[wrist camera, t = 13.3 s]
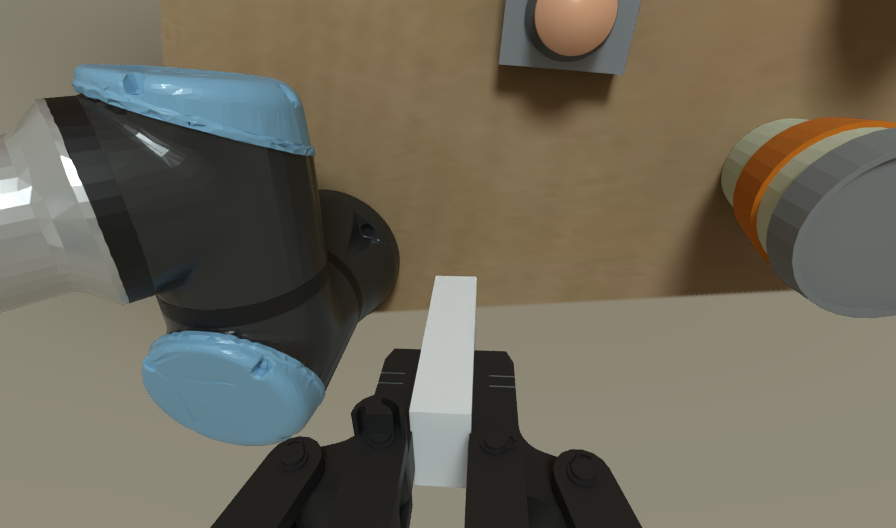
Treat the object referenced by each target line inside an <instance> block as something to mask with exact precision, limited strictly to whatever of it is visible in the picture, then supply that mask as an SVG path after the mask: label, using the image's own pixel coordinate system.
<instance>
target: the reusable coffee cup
mask: <svg viewBox="0 0 896 528" xmlns="http://www.w3.org/2000/svg"><path fill="white" fill-rule="evenodd" d="M721 185H722V190H723V193H724V195H725V197H726V199H727V200H728V201H729V203H730V204H731V205H732V207H733V208H734V213H735V217H736V219H737V221H738V223H739V225H740V227H741V228H742V230H743V231H744V233H745V234H746V235H747V237H748V238H749V240H750V241H751V243H752V244H753V245H754V247H755V248H756V250H757V251H758V252H759V253H760V255H761V256H762V257H763V258H764V259H765V260H766V261H767V262H768V263H770V264H771V266H772V268H773V270H774V272H775V273H776V274H777V275H778V277H779V278H780V279H781V280H782V281H783V282H784V283H785V284H787V285H788V286H790V287H791V288H792V289H794V290H795V291H797V292H798V293H800V294H801V295H803V296H804V297H806V298H807V299H809V300H810V301H812V302H813V303H815V304H816V305H817V306H819V307H821V308H822V309H824V310H827V311H830V312H832V313H835V314H838V315H843V316H849V317H854V318H877V317H886V316H893V315H896V123H892V122H886V121H878V120H866V119H854V118H842V117H826V118H818V119H813V120H804V119H781V120H776V121H772V122H769V123H766V124H764V125H761V126H760V127H758V128H756V129H754V130H752V131H751V132H750V133H748V134H747V135H746V136H744V137H743V138H742V139H741V140H740V141H739V142H738V143H737V144H736V145H735V146H734V148H733V149H732V150H731V152H730V153H729V155H728V157H727V159H726V161H725V163H724V166H723V170H722V174H721Z"/></svg>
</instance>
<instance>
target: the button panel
mask: <svg viewBox="0 0 896 528" xmlns="http://www.w3.org/2000/svg"><path fill="white" fill-rule="evenodd" d="M536 1H537V0H506V3H505V12H504V21H503V30H502V39H501V48H500V57H499V64H501V65H513V66H525V67H536V68H548V69H560V70H572V71H584V72H596V73H608V74H620V75H623V74H624V70H625V65H626V61H627V57H628V53H629V49H630V44H631V40H632V36H633V32H634V27H635V23H636V19H637V15H638V11H639V6H640V2H641V0H617V1H618V7H617V15H616V19H615V22H614V25H613V27H612V29H611V31H610V33H609V34H608V36H607V37H606V38H605V39H604V41H603V42H602V43H601V44H599V45H598V46H597V47H596V48H594V49H593V50H591V51H589V52H587V53H585V54H582V55H577V56H565V55H561V54H558V53H556V52H554V51H552V50H551V49H549V48H548V47H547V46H546V45H545V44H544V43H543V42H542V41H541V39H540V38H539V36H538V34H537V32H536V28H535V23H534V10H535V5H536Z"/></svg>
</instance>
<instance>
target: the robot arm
mask: <svg viewBox="0 0 896 528" xmlns="http://www.w3.org/2000/svg"><path fill="white" fill-rule="evenodd" d="M72 86H73V87H74V89H75V91H76V92H77V93H80V94H78V95H76V96H65V97H54V98H43V99H35V101H34V102H33V104H32V105H31V106H30V108H29V109H28V110H27V112H26V113H25V114H24V116H23V117H22V119H21V120H20V121H19V122H18V124H17V125H16V127H15V128H14V129H12V130H11V131H9V132H8V133H5V134H3V135H0V313H2V312H6V311H9V310H13V309H16V308H20V307H23V306H26V305H30V304H33V303H37V302H40V301H44V300H47V299H50V298H54V297H58V296H61V295H65V294H68V293H71V292H81V293H88V294H91V295H94V296H97V297H100V298H103V299H106V300H109V301H112V302H115V303H118V304H121V305H125V304H128V303H132V302H135V301H137V300H141V299H144V298H147V297H150V296H153V295H156V297H157V300H158V303H159V306H160V309H161V311H162V314H163V316H164V319H165V322H166V325H167V333H166V335H163V336H162V337H160V338H159V339H158V340H157V341H154V343H153V344H152V345H151V347H150V351H149V354H148V355H147V357H146V358H145V359H144V361H143V365H142V379H143V383H144V385H145V388H146V390H147V391H148V394H149V395H150V397H151V398H152V399H153V401H154V402H155V403H156V404H157V405H158V406H159V407H160V408H161V409H162V410H163V411H164V412H165V413H166V414H168V415H169V416H170V417H171V418H173V419H174V420H175V421H177V422H178V423H180V424H182V425H183V426H185V427H187V428H189V429H191V430H194V431H195V432H197V433H199V434H201V435H203V436H206V437H209V438H212V439H214V440H218V441H221V442H225V443H230V444H235V445H243V446H265V445H271V444H276V443H279V442H282V441H284V440H286V441H284V442H282V443H280V444H278V445H277V446H276V447H275V448H274V449H273V450H272V451H271V452H270V453H269V454H268V456H267V457H266V458H265V459H264V461H263V462H262V463H261V465H260V466H259V467H258V468H257V470H256V471H255V472H254V473H253V475H252V476H251V477H250V478H249V480H248V481H247V482H246V483H245V485H244V486H243V487H242V488H241V490H240V491H239V492H238V494H237V495H236V496H235V497H234V499H233V500H232V501H231V502H230V504H229V505H228V506H227V507H226V509H225V510H224V511H223V512H222V514H221V515H220V516H219V518H218V519H217V520H216V522H215V523H214V524H213V525H212V526H211V528H409V526H410V519H411V512H412V487H413V480H414V481H415V485H423V486H440V487H457V488H466V507H465V528H642V526H641V525H640V523H639V521H638V519H637V517H636V516H635V514H634V512H633V510H632V508H631V506H630V505H629V503H628V501H627V499H626V498H625V496H624V494H623V492H622V490H621V488H620V486H619V485H618V483H617V481H616V479H615V478H614V476H613V474H612V472H611V470H610V468H609V467H608V466H607V465H606V464H605V462H604V461H603V460H602V459H601V458H599V457H597V456H596V455H595V454H593V453H590V452H588V451H584V450H574V449H572V450H568V451H565V452H562V453H561V454H560V455H559V456H558V457H556V456H553V455H550V454H547V453H544V452H542V451H539V450H537V449H535V448H534V447H532V446H531V445H530V444H528V443H527V442H526V440H525V439H524V438H523V437H522V435H521V433H520V430H519V426H518V413H517V402H516V389H515V378H514V364H513V361H512V360H511V359H510V357H509V355H508V354H507V352H504V351H477V350H475V341H476V285H477V277H460V276H436V278H435V283H434V288H433V293H432V298H431V303H430V308H429V314H428V318H427V324H426V329H425V334H424V339H423V344H422V349H421V350H419V349H418V350H417V349H394V350H393V351H392V352H391V353H390V354H389V356H388V357H387V358H386V359H385V361H384V365H383V368H382V373H381V375H380V378H379V383H378V385H377V388H376V391H375V395H373V396H370V397H368V398H365V399H363V400H362V401H360V402H359V403H358V404H357V405H356V406H355V407H354V409H353V410H352V412H351V417H352V423H353V429H354V434H355V436H353V437H351V438H350V439H348V440H345V441H343V442H339V443H336V444H331V445H327V446H322V447H320V445H319V444H318V442H317V441H315V440H313V439H311V438H310V437H300V436H299V437H295V438H290V437H291V436H292V435H294V434H296V433H298V432H300V431H301V430H302V429H303V428H304V427H305V425H306V424H307V423H308V421H309V419H310V418H311V416H312V415H313V413H314V412H315V410H316V409H317V407H318V406H319V405H320V404H321V402H322V401H323V399H324V396H325V391H326V389H327V386H328V384H329V382H330V380H331V378H332V376H333V374H334V372H335V370H336V368H337V365H338V363H339V361H340V359H341V357H342V355H343V353H344V351H345V349H346V346H347V344H348V342H349V340H350V338H351V336H352V334H353V332H354V329H355V327H356V325H357V323H358V322H359V321H360V320H361V319H363V318H364V317H365V316H367V315H368V314H370V313H371V312H373V311H374V310H376V309H377V308H378V307H379V306H380V305H381V304H382V303H383V302H384V301H385V300H386V298H387V297H388V296H389V294H390V292H391V290H392V288H393V285H394V283H395V281H396V278H397V275H398V271H399V251H398V246H397V243H396V240H395V238H394V235H393V233H392V231H391V230H390V228H389V226H388V225H387V224H386V222H385V221H384V220H383V219H382V217H381V216H380V215H379V214H378V213H377V212H376V211H375V210H373V209H372V208H371V207H370V206H368V205H367V204H365V203H364V202H362V201H361V200H359V199H357V198H355V197H353V196H350V195H348V194H345V193H341V192H337V191H332V190H318V185H317V178H316V171H315V164H314V157H313V156H315V155H316V154H315V149H314V147H313V146H311V143H310V138H309V133H308V128H307V123H306V118H305V113H304V108H303V104H302V102H301V99H300V98H299V96H298V94H297V93H296V92H295V91H294V90H293V89H292V88H291V87H290V86H289V85H287V84H286V83H284V82H282V81H279V80H277V79H273V78H269V77H263V76H256V75H248V74H240V73H230V72H221V71H209V70H197V69H186V68H172V67H157V66H140V65H101V64H84V65H79V66H78V67H77V68H76V69H75V70H74V80H73V82H72ZM289 438H290V439H289ZM287 439H288V440H287Z"/></svg>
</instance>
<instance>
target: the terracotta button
mask: <svg viewBox="0 0 896 528" xmlns="http://www.w3.org/2000/svg"><path fill="white" fill-rule="evenodd" d="M617 7H618V1H617V0H537V1H536V5H535V10H534V23H535V28H536V32H537V34H538V36H539V38H540V39H541V41H542V42H543V43H544V44H545V45H546V46H547V47H548V48H549V49H551V50H552V51H554V52H556V53H558V54H561V55H565V56H577V55H582V54H585V53H587V52H589V51H591V50H593V49H594V48H596V47H597V46H598V45H599V44H601V43H602V42H603V41H604V39H605V38H606V37H607V36H608V34H609V33H610V31H611V29H612V27H613V25H614V22H615V19H616V15H617Z"/></svg>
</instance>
